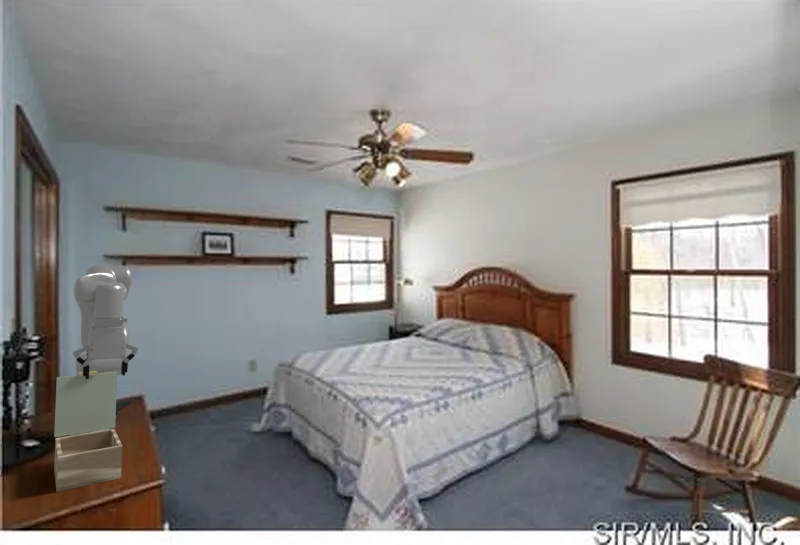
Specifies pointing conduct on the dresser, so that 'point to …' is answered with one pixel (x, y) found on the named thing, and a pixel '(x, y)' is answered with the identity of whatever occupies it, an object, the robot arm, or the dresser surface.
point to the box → (87, 459)
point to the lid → (85, 403)
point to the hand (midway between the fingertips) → (105, 376)
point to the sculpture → (121, 406)
